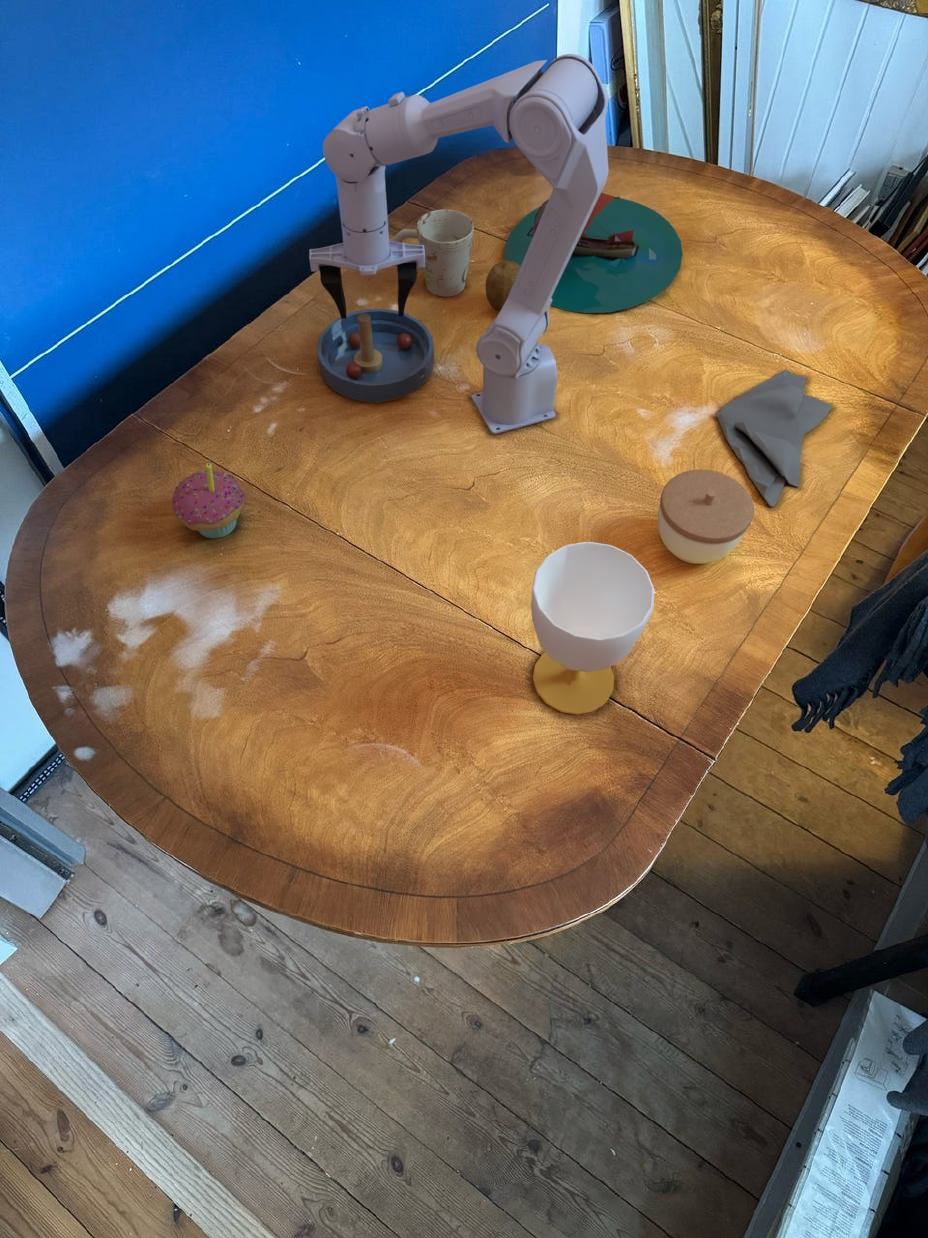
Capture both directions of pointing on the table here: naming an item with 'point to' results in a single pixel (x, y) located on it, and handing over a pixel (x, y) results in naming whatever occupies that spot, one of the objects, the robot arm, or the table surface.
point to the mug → (443, 249)
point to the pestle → (367, 347)
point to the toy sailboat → (609, 256)
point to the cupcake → (208, 502)
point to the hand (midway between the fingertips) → (372, 312)
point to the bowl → (399, 365)
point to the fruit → (500, 283)
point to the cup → (586, 622)
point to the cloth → (772, 430)
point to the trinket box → (703, 515)
